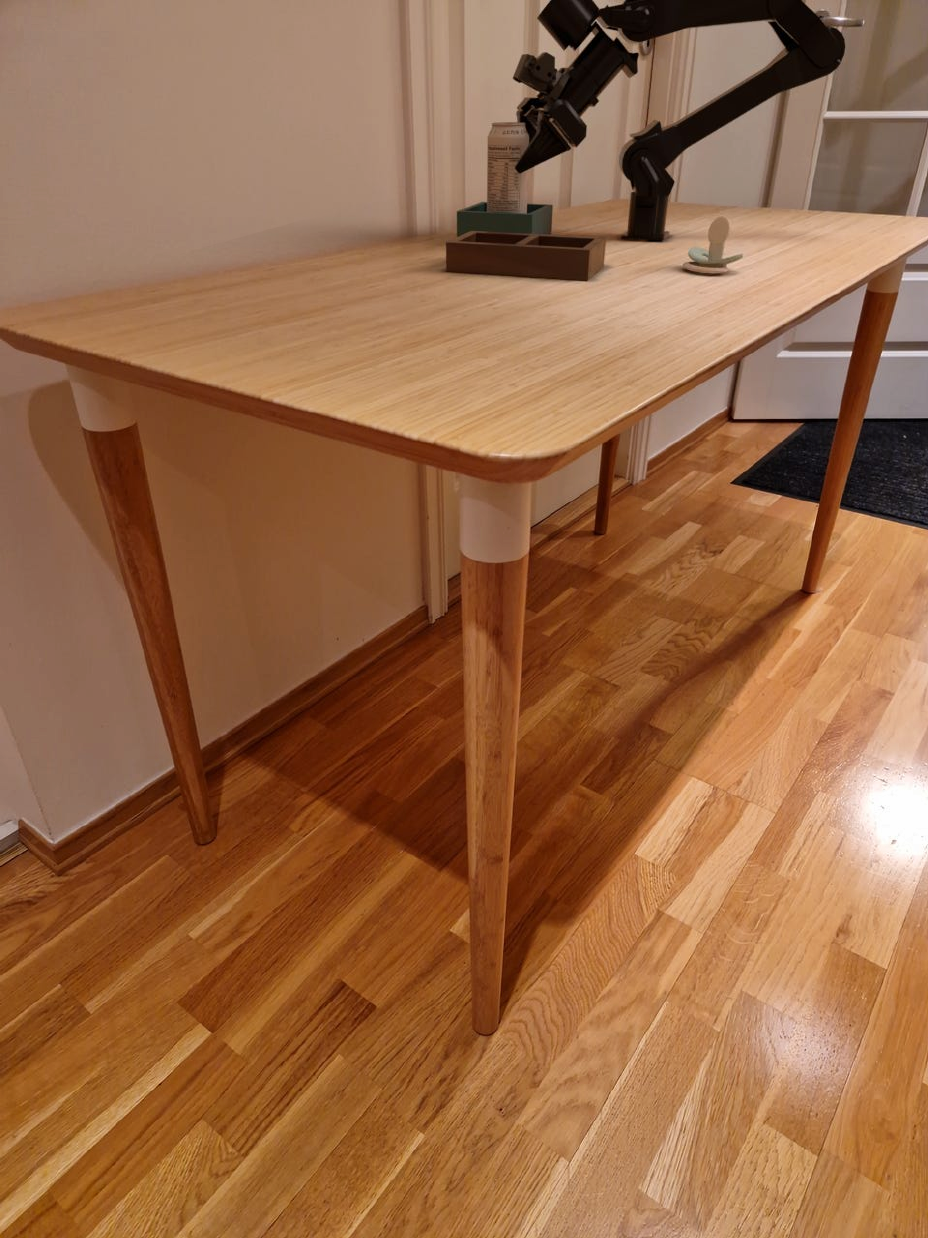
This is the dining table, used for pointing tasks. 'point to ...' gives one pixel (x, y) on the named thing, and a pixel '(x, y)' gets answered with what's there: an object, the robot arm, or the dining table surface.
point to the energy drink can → (506, 168)
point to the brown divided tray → (526, 255)
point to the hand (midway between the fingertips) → (509, 168)
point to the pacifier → (712, 250)
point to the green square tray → (505, 220)
